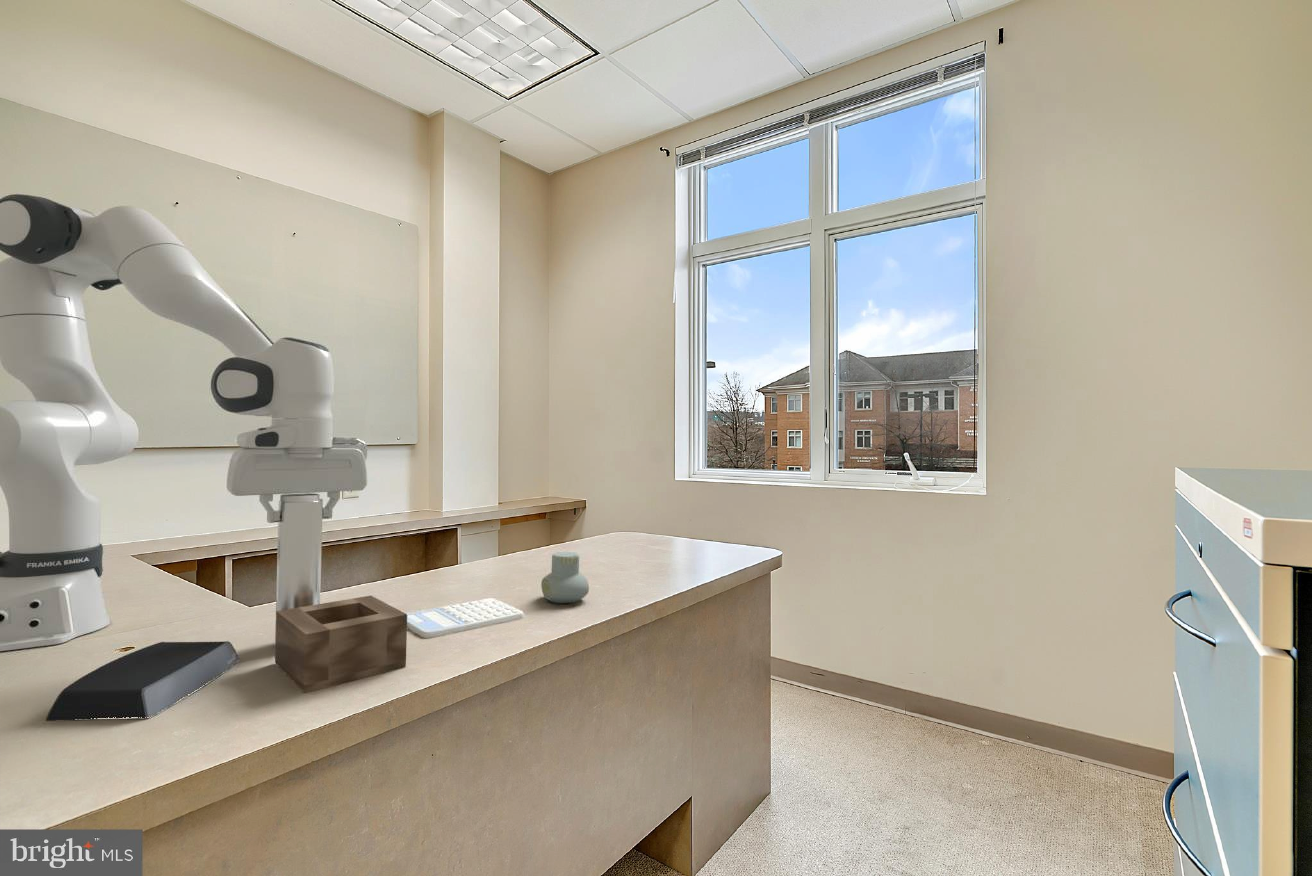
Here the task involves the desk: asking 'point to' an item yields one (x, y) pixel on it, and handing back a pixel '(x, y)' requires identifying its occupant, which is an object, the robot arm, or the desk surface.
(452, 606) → the calculator
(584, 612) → the desk surface
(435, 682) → the desk surface
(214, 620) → the desk surface
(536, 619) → the desk surface
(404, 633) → the socket block
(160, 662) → the external hard drive
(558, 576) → the air freshener
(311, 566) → the tall grey cylinder
